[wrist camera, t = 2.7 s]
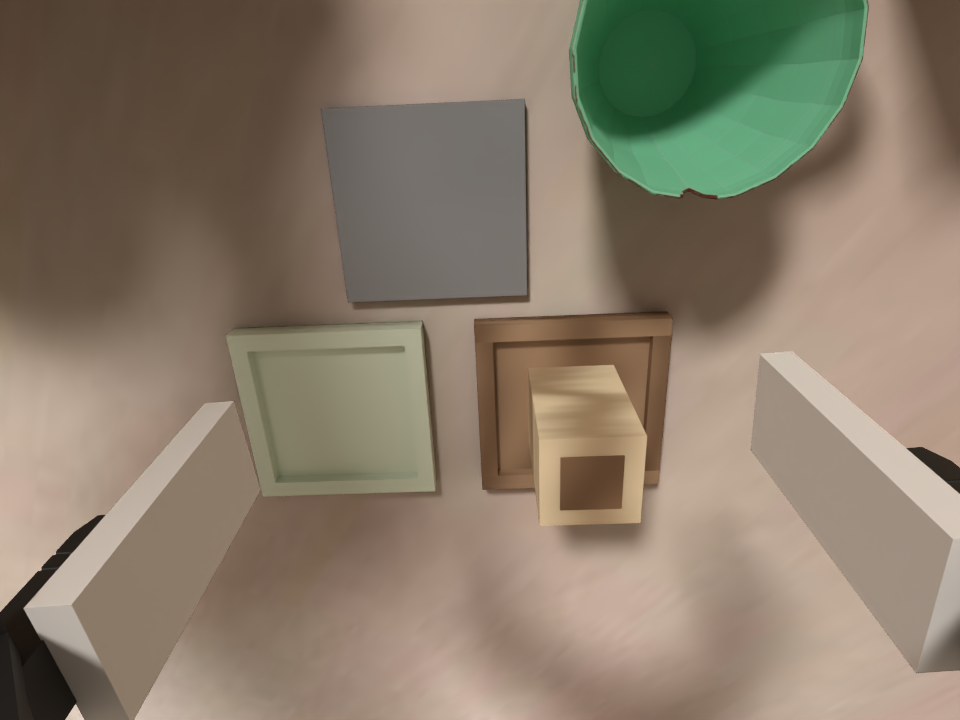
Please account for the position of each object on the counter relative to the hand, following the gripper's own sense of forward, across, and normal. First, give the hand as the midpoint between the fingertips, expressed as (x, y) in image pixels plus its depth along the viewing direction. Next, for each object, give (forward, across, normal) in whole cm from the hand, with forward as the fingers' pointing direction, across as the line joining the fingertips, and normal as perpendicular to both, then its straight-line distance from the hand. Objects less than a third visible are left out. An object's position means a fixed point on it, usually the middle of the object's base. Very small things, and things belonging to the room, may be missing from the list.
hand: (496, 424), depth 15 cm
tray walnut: (+19, +4, -10) cm, 22 cm away
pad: (+19, -3, +2) cm, 20 cm away
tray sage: (+19, -10, -9) cm, 24 cm away
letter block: (+19, +4, -10) cm, 22 cm away
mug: (+20, +10, +9) cm, 24 cm away
